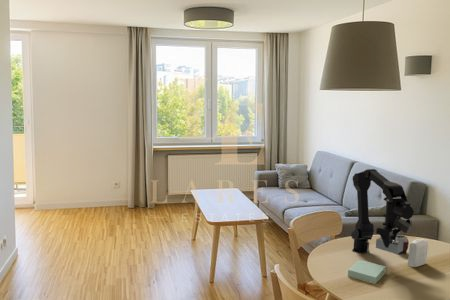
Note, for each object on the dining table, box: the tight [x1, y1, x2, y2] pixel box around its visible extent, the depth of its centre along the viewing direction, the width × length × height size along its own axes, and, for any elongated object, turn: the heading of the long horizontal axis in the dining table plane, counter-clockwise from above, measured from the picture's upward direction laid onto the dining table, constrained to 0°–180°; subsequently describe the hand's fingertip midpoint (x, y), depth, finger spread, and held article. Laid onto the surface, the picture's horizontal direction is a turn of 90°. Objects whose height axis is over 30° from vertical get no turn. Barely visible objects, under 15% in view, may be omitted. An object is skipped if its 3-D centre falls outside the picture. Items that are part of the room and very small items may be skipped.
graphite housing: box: [375, 236, 404, 255], centre depth 199 cm, size 10×6×5 cm, turn 44°
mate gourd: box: [396, 231, 410, 255], centre depth 220 cm, size 8×8×15 cm
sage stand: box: [347, 259, 387, 285], centre depth 194 cm, size 12×14×3 cm
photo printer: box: [407, 238, 429, 268], centre depth 205 cm, size 10×4×12 cm, turn 123°
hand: (389, 245), depth 199 cm, fingers closed on graphite housing, 6 cm apart
